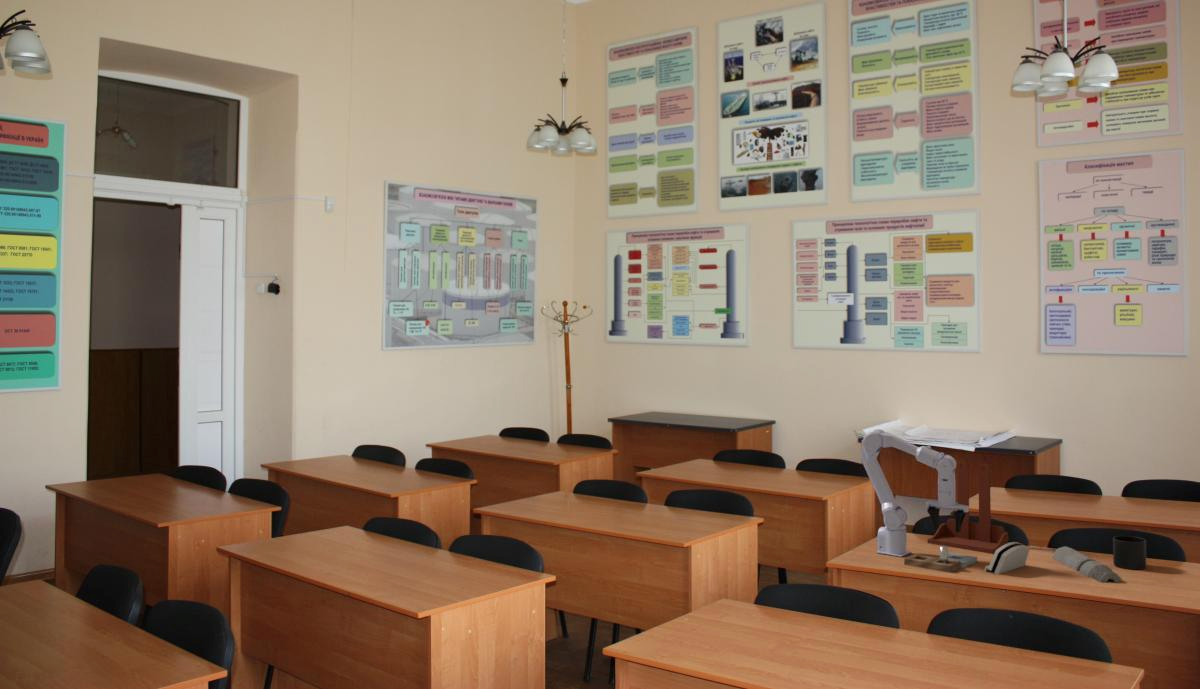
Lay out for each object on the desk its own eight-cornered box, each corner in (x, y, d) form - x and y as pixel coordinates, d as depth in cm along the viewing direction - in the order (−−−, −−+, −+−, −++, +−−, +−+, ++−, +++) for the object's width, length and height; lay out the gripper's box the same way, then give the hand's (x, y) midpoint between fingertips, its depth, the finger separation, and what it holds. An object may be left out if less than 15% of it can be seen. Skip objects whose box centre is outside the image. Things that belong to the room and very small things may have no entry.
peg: (938, 567, 312) (938, 547, 312) (942, 566, 314) (941, 545, 314) (946, 569, 311) (946, 548, 310) (949, 567, 312) (949, 546, 312)
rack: (904, 564, 318) (904, 558, 318) (915, 559, 323) (914, 553, 323) (950, 572, 307) (950, 566, 306) (960, 567, 312) (960, 561, 312)
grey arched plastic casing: (1011, 562, 317) (1020, 536, 314) (1023, 569, 314) (1033, 543, 311) (983, 571, 307) (992, 544, 304) (996, 578, 304) (1005, 551, 301)
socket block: (935, 562, 319) (935, 558, 319) (948, 556, 326) (948, 552, 326) (965, 567, 312) (964, 562, 312) (977, 561, 320) (977, 556, 319)
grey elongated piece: (1077, 546, 322) (1124, 569, 292) (1077, 558, 322) (1124, 583, 292) (1052, 546, 322) (1096, 569, 292) (1052, 559, 322) (1096, 583, 292)
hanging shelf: (927, 543, 347) (926, 462, 346) (944, 537, 356) (943, 458, 355) (992, 554, 329) (991, 469, 328) (1008, 547, 338) (1007, 464, 337)
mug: (1127, 559, 317) (1127, 533, 317) (1152, 569, 305) (1152, 541, 305) (1102, 561, 316) (1101, 534, 316) (1126, 570, 304) (1126, 542, 304)
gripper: (972, 491, 321) (972, 531, 321) (931, 487, 331) (932, 525, 331) (963, 494, 316) (964, 534, 316) (922, 490, 326) (923, 528, 326)
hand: (947, 530), depth 323 cm, fingers open, 7 cm apart
